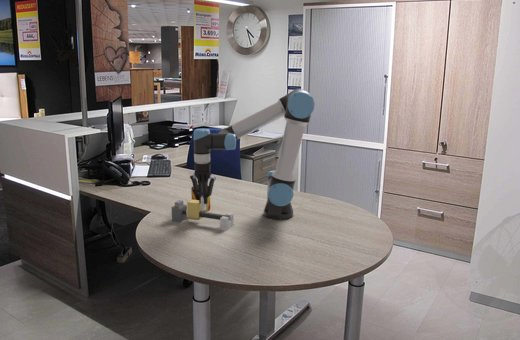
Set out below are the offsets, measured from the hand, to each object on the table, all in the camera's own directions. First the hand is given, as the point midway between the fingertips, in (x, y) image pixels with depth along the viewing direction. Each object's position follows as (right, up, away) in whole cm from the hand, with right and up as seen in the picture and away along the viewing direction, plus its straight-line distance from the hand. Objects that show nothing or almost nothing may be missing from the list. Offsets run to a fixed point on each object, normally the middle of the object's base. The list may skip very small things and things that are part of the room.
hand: (203, 209), depth 216 cm
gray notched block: (+11, -8, -3) cm, 14 cm away
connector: (-13, -5, +7) cm, 15 cm away
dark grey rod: (-1, -4, +2) cm, 4 cm away
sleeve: (-4, -4, +3) cm, 7 cm away
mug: (-3, -2, +20) cm, 21 cm away
